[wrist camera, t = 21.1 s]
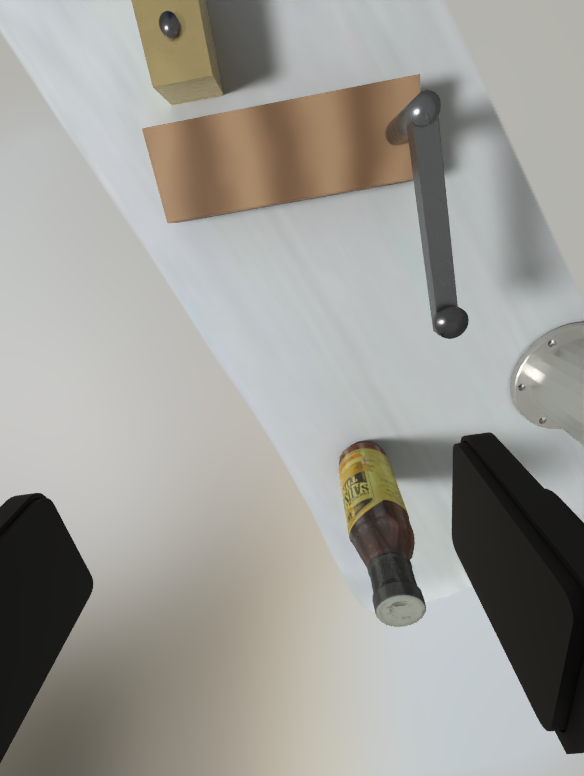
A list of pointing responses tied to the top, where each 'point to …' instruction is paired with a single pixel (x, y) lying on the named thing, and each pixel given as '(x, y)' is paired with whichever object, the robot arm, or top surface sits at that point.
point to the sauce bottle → (381, 532)
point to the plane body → (281, 151)
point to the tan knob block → (179, 49)
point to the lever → (431, 207)
